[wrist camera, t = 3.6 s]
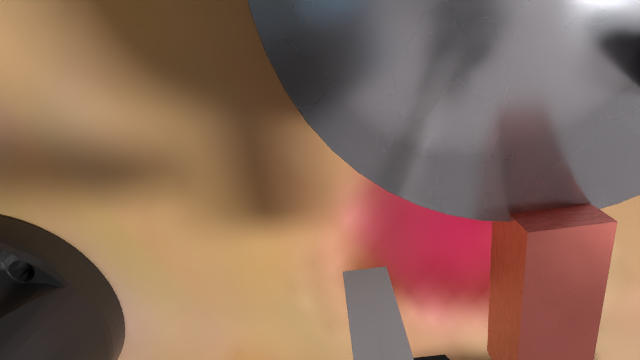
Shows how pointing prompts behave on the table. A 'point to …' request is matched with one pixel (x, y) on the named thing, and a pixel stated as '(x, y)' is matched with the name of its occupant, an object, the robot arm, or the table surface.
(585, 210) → the lid
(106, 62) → the table surface
